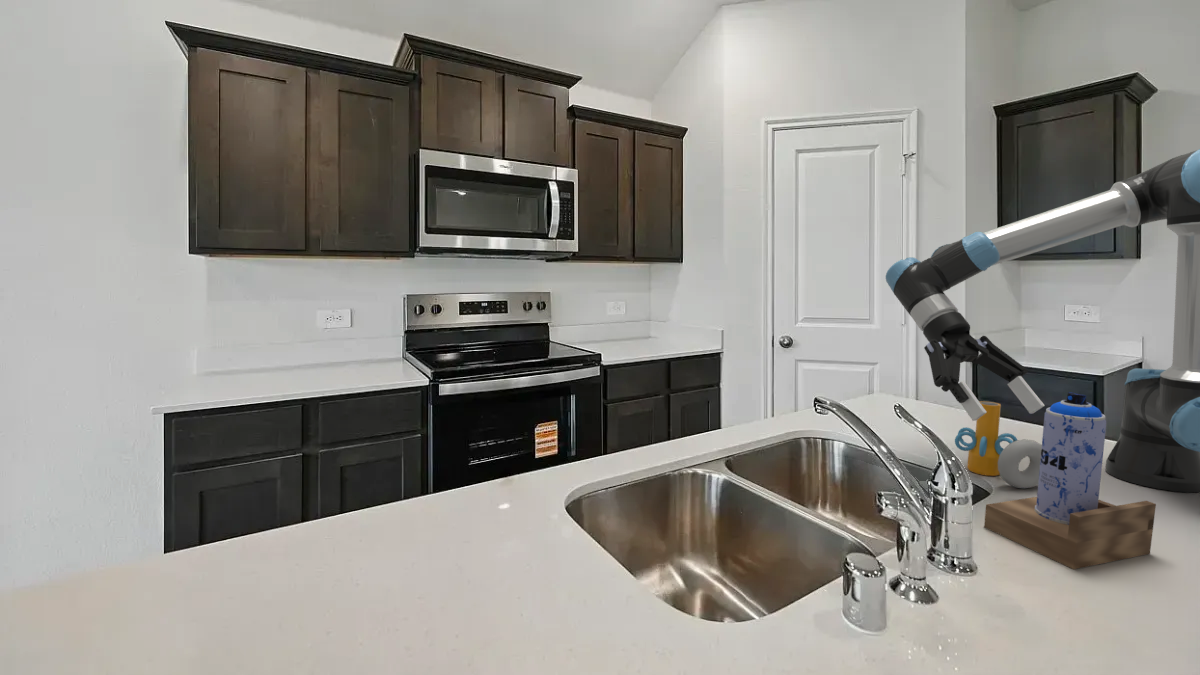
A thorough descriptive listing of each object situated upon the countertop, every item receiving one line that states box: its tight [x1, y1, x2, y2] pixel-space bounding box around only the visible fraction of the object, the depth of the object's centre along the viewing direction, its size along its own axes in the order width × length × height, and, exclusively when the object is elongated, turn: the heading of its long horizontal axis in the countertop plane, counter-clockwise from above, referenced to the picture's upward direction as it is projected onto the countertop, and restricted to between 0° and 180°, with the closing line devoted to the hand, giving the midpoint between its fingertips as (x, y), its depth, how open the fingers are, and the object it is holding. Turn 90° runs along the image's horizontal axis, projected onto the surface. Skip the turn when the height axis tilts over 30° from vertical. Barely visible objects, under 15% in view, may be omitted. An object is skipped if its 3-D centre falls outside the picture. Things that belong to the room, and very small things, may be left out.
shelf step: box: [983, 496, 1157, 570], centre depth 90 cm, size 16×14×8 cm
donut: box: [998, 438, 1042, 489], centre depth 111 cm, size 10×4×10 cm, turn 93°
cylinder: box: [954, 400, 1018, 477], centre depth 119 cm, size 12×10×15 cm
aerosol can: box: [1035, 391, 1107, 525], centre depth 88 cm, size 8×8×20 cm
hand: (1009, 413), depth 99 cm, fingers open, 13 cm apart
